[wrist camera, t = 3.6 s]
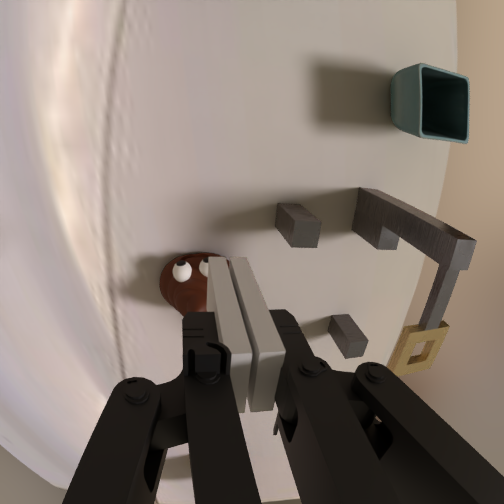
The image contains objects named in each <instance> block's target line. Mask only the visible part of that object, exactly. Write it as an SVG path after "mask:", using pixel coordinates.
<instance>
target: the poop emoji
mask: <svg viewBox="0 0 504 504" xmlns="http://www.w3.org/2000/svg"><path fill="white" fill-rule="evenodd" d="M209 257H222V256H220V255H218V254H214V253H198V254H195V255H194V254H189V255H183V256H180V257H177V258H175V259H173V260H172V261H171V262H169V263H168V264H167V265H166V267H165V268H164V269H163V271H162V273H161V276H160V290H161V293H162V295H163V297H164V299H165V300H166V301H167V302H168V303H169V304H170V305H171V306H173V307H174V308H175V309H176V310H177V311H179V312H180V313H181V315H182V316H185V315H186V314H187V312H207V281H208V259H209ZM226 261H227V265H228V268H229V264H230V262H229V261H228V260H227V259H226Z"/></svg>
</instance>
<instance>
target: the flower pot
mask: <svg viewBox="0 0 504 504" xmlns="http://www.w3.org/2000/svg"><path fill="white" fill-rule="evenodd" d="M469 87H470V86H469V79H468V77H466V76H463V75H460V74H457V73H454V72H450V71H447V70H444V69H440V68H437V67H434V66H430V65H427V64H424V63H419V64H416V65H413V66H410V67H407V68H404V69H402V70H400V71H398V72H397V73H396V74H395V75H394V77H393V79H392V82H391V118H392V121H393V123H394V125H395V126H396V127H397V128H398V129H400V130H402V131H404V132H407V133H409V134H412V135H415V136H418V137H420V138H423V139H433V140H442V141H450V142H456V143H462V144H467V143H468V139H469V105H470V104H469V101H470V93H469V92H470V91H469V90H470V88H469Z"/></svg>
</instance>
